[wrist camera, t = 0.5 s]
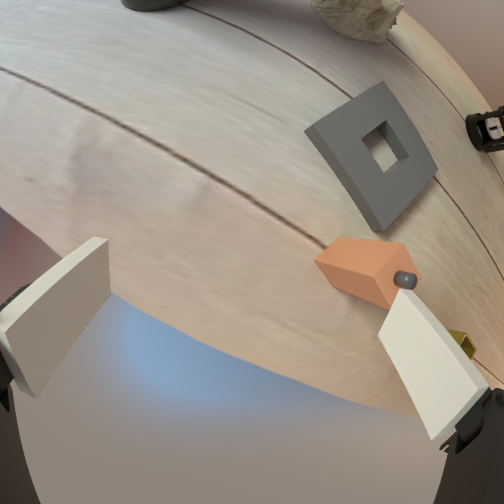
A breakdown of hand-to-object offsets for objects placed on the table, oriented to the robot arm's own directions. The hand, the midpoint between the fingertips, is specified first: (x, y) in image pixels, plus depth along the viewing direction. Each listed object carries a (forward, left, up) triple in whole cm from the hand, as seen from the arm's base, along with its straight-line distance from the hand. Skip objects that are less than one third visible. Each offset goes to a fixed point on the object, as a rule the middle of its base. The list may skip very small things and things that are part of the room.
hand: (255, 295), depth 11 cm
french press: (-34, +57, -24) cm, 71 cm away
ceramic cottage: (-49, +19, -25) cm, 58 cm away
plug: (0, +17, -24) cm, 30 cm away
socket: (-18, +23, -24) cm, 38 cm away
